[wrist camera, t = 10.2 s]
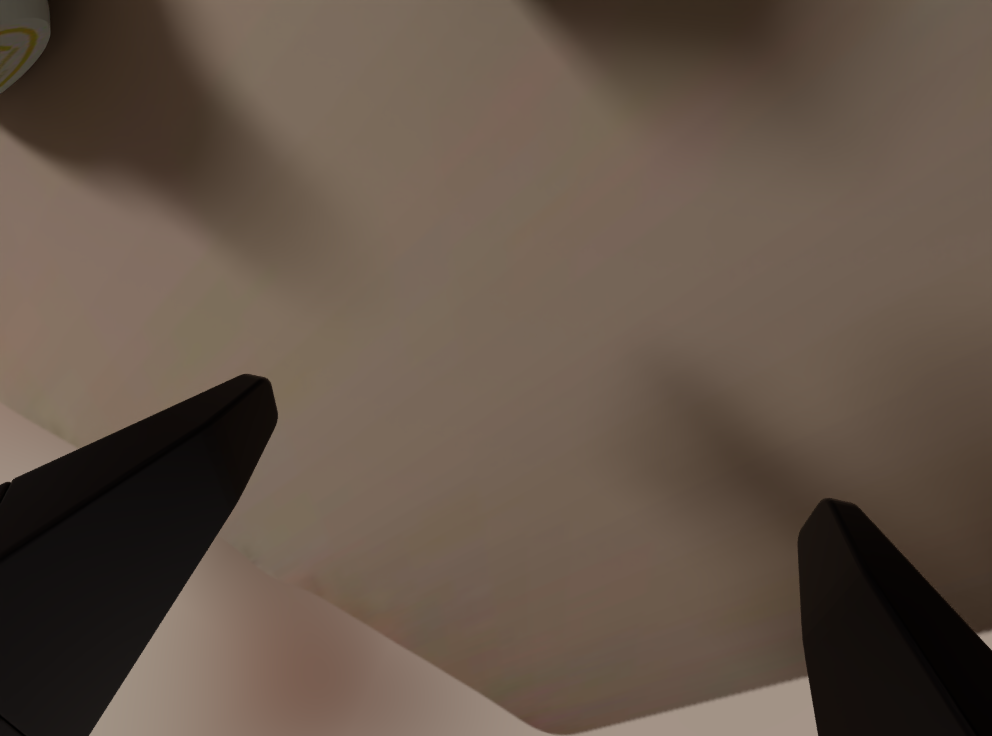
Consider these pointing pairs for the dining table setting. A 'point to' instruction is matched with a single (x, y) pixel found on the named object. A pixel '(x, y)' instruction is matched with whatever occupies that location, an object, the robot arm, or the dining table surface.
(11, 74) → the air freshener
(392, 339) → the dining table surface
